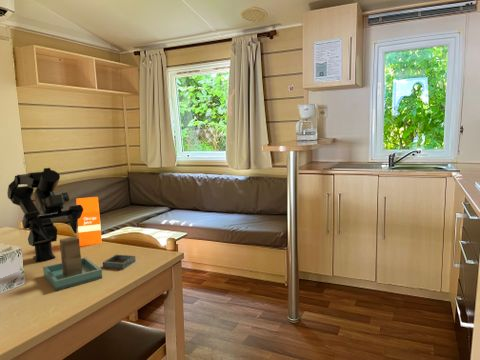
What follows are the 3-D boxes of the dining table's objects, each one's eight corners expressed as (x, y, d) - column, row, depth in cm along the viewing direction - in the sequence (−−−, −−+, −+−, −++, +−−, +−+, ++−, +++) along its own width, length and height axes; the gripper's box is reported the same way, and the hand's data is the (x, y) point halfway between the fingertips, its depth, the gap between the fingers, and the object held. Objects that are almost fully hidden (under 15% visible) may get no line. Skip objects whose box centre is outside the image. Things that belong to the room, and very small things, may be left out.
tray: (43, 275, 119) (43, 267, 119) (86, 264, 128) (86, 256, 127) (55, 291, 107) (54, 281, 106) (102, 278, 116) (101, 269, 115)
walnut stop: (63, 274, 117) (59, 239, 115) (76, 270, 120) (73, 236, 119) (68, 277, 114) (64, 242, 112) (82, 273, 117) (79, 238, 116)
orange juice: (80, 241, 157) (76, 197, 154) (101, 238, 160) (98, 195, 157) (79, 246, 149) (75, 200, 147) (101, 243, 153) (98, 198, 150)
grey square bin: (103, 267, 125) (102, 262, 124) (116, 259, 132) (116, 254, 132) (123, 269, 123) (122, 264, 122) (135, 261, 130) (135, 255, 130)
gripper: (21, 189, 115) (35, 228, 109) (79, 182, 128) (94, 216, 122) (16, 209, 121) (30, 247, 115) (72, 201, 135) (87, 234, 129)
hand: (62, 235), depth 120 cm, fingers open, 9 cm apart
